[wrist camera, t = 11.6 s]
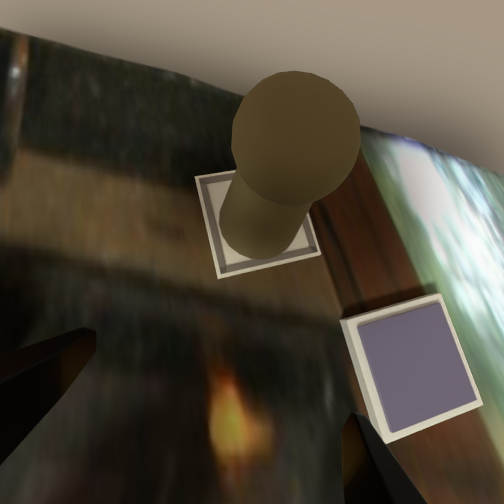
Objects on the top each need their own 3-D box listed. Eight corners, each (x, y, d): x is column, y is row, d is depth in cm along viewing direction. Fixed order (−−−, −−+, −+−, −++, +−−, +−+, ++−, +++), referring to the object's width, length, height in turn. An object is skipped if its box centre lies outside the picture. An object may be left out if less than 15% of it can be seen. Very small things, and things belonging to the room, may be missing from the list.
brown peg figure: (214, 186, 20) (213, 38, 9) (290, 182, 21) (368, 44, 10) (222, 263, 19) (231, 194, 8) (303, 255, 19) (407, 184, 9)
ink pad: (375, 437, 18) (387, 446, 16) (339, 320, 19) (348, 320, 18) (469, 400, 19) (487, 406, 18) (429, 293, 21) (443, 292, 19)
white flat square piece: (217, 279, 19) (217, 278, 18) (195, 178, 20) (194, 175, 20) (319, 255, 20) (321, 254, 20) (291, 163, 22) (292, 160, 21)
